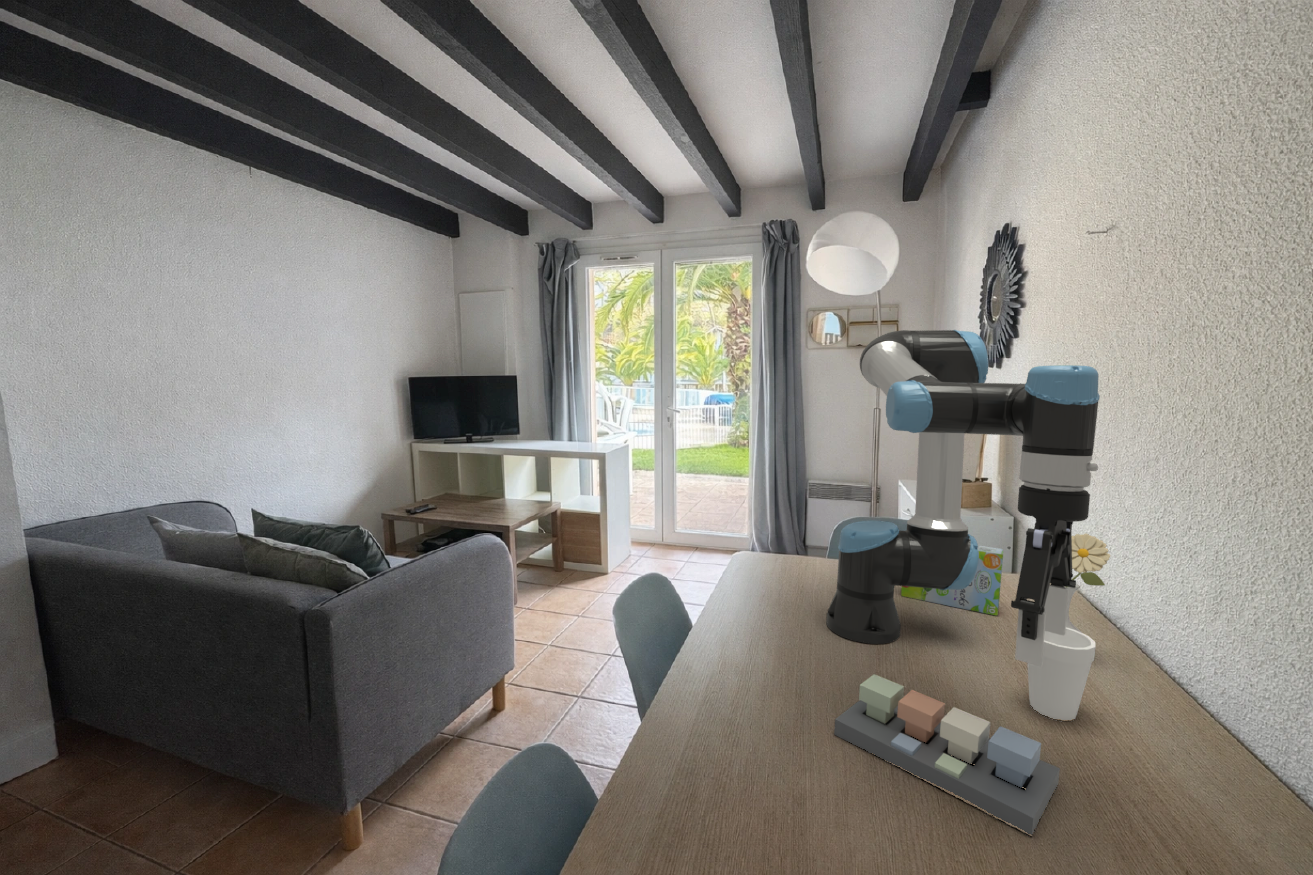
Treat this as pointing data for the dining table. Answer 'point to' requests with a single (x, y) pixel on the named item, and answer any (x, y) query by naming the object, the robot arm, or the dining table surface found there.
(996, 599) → the snack box
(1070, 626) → the flower in vase
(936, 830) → the dining table surface
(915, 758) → the keypad
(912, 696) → the key terracotta
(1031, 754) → the key slate
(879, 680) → the key sage
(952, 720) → the key cream
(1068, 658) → the foam cup
